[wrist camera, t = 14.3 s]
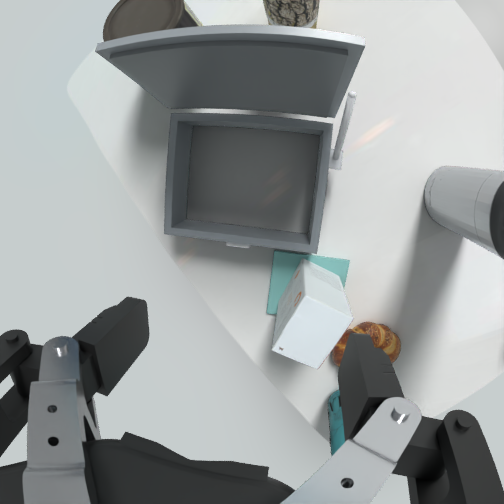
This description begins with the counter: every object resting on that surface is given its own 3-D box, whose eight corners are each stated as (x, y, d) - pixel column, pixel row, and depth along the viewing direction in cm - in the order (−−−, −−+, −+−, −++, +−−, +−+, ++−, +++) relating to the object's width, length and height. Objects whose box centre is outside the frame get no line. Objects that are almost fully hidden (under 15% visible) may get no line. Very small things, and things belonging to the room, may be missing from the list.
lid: (334, 121, 30) (335, 111, 30) (365, 51, 15) (364, 37, 15) (167, 111, 33) (168, 102, 33) (93, 56, 17) (97, 43, 17)
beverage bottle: (349, 376, 48) (363, 466, 29) (366, 395, 49) (382, 480, 30) (320, 393, 50) (321, 482, 31) (338, 410, 51) (344, 495, 32)
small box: (314, 318, 45) (317, 371, 33) (277, 301, 45) (269, 351, 33) (340, 274, 42) (355, 318, 30) (302, 256, 42) (304, 294, 30)
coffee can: (217, 75, 37) (182, 41, 24) (153, 88, 39) (100, 67, 25) (214, 19, 34) (183, -27, 21) (153, 34, 36) (106, 0, 23)
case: (340, 114, 36) (361, 91, 23) (324, 247, 42) (336, 285, 29) (188, 103, 39) (143, 82, 26) (179, 229, 45) (134, 256, 31)
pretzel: (402, 315, 44) (409, 327, 40) (393, 367, 47) (398, 380, 43) (332, 320, 46) (335, 333, 42) (329, 373, 49) (331, 386, 45)
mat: (348, 260, 42) (349, 261, 41) (335, 319, 45) (336, 321, 44) (274, 250, 43) (274, 251, 43) (266, 311, 46) (266, 313, 46)
